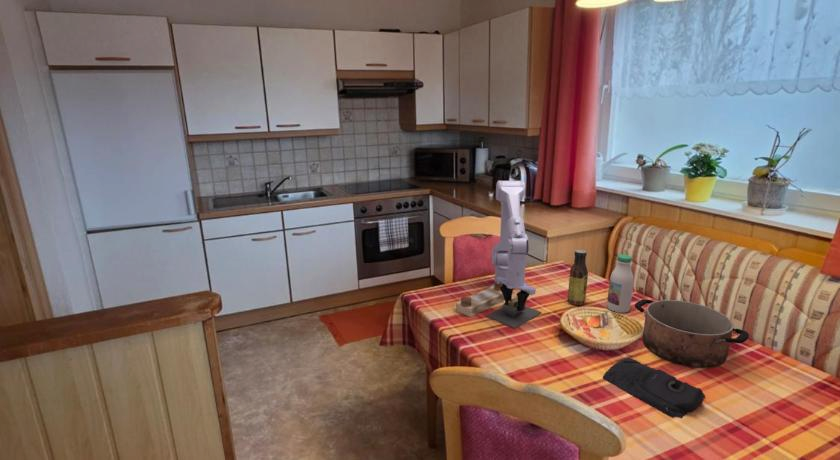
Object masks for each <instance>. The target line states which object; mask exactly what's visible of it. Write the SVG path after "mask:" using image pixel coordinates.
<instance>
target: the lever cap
mask: <svg viewBox="0 0 840 460" xmlns="http://www.w3.org/2000/svg"><path fill="white" fill-rule="evenodd" d="M526 305H527V303H526V302H525V305H524V308H523V310H521V311H518V298H517V296H515V297H512V299H511V300H509V301H508V302H506V303H505V302H503V304H502V307H503V312H505V313H507V314H510V315H512V316H515V315H516V314H518V313H520V312H522V311H524V310H525V306H526Z"/></svg>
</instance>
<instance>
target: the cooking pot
mask: <svg viewBox="0 0 840 460" xmlns="http://www.w3.org/2000/svg"><path fill="white" fill-rule="evenodd" d="M646 304H648V305H647V307H646V310H645V308H644V307H643V306H645V305H646ZM634 307H635V309H636V310H637V311H639V312H640V313H643V314H644V324H643V329H642V337H641V338H642V342H643V344H644V346H645V347H646V348H647V350H649V351H650V352H651V353H652V354H654V355H656V356H657V357H659V358H661V359H663V360H665V361H668V362H670V363H673V364H677V365H679V366H685V367H687V368H688V367H689V368H694V369H710V368H711V369H712V368H716V367H719V366H721V365H722V364H724V363H726V361H727V359H728V355H729V350H730V345H731V343H732V344H743V343H745V342H746V341H747V340H748V339H749V337H750V335H749V332H748V331H746V330H744V329H739V328H734V323H733V321H732V319H730V318H729V317H728V316H726V314H724V313H722V312H720V311H718V310H716V309H714V308H711V307H709V306H706V305H703V304H701V303H700V304H699V303H695V302H691V301H686V300H678V299H677V300H676V299H663V300H661V299H660V300H656V301H654V300H652V299H648V298H644V299H640V300H638V301H637V302H635V303H634ZM733 332H735V333H736V334H739V335H738V336H737V337H736V338H735V337H733Z"/></svg>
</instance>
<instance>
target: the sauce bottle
mask: <svg viewBox="0 0 840 460" xmlns="http://www.w3.org/2000/svg"><path fill="white" fill-rule="evenodd" d="M587 255H588V254H587V251H586V250H584V249H575V250H574V260H573V261H574V263H573V264H572V265H571V267H570V272H569V279H568V280H569V281H568V292H567V301H568V303H569V304H571V305H574V306H582V305H585V303H586V300H587V299H586V298H587V289H588V280H589V279H588V278H589V272H588V268H587V264H586V258H587Z"/></svg>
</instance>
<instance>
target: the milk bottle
mask: <svg viewBox="0 0 840 460" xmlns="http://www.w3.org/2000/svg"><path fill="white" fill-rule="evenodd" d="M632 260H633V257H632V256H631V255H629V254H624V253H623V254H621V253H619V254H618V255H617V257H616V261H617V264H616V266H615V267H614V269H613V271H612V272H611V275H610V278H609V284H608V293H607V301H606V307H607V309H608V310H610V311H611V310H612V311H611V312H614V311H615V312H614V313H621V314H625V313H628V312H630V310H631V305H632V297H633V290H634V274H633V271H632V267H631V264H632Z"/></svg>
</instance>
